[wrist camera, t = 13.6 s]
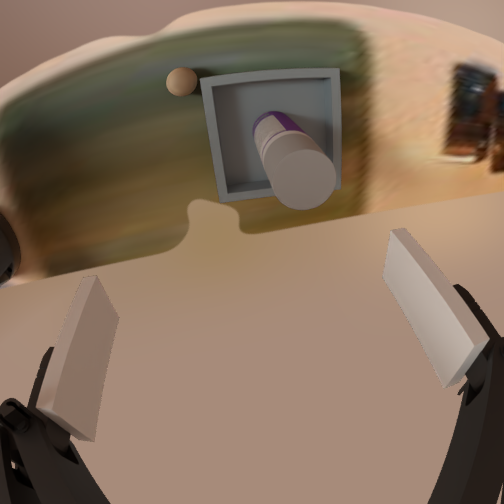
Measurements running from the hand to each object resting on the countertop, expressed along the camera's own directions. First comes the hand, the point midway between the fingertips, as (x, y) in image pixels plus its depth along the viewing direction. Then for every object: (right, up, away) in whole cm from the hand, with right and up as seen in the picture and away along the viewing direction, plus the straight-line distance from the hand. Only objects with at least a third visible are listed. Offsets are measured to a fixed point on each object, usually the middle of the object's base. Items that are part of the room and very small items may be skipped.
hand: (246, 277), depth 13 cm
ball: (-7, +19, +15) cm, 26 cm away
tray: (+3, +15, +19) cm, 24 cm away
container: (+3, +15, +19) cm, 24 cm away
